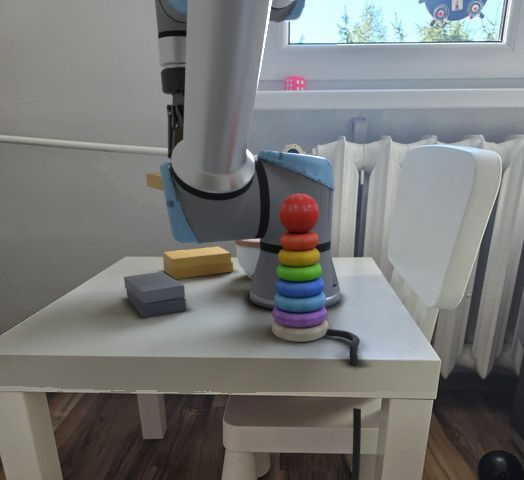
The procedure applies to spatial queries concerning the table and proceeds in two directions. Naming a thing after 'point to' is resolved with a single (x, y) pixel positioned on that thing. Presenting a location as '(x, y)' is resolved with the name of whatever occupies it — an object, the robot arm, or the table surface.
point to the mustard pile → (197, 262)
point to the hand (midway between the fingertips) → (190, 199)
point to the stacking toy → (299, 274)
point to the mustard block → (154, 181)
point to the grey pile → (155, 294)
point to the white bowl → (248, 254)
